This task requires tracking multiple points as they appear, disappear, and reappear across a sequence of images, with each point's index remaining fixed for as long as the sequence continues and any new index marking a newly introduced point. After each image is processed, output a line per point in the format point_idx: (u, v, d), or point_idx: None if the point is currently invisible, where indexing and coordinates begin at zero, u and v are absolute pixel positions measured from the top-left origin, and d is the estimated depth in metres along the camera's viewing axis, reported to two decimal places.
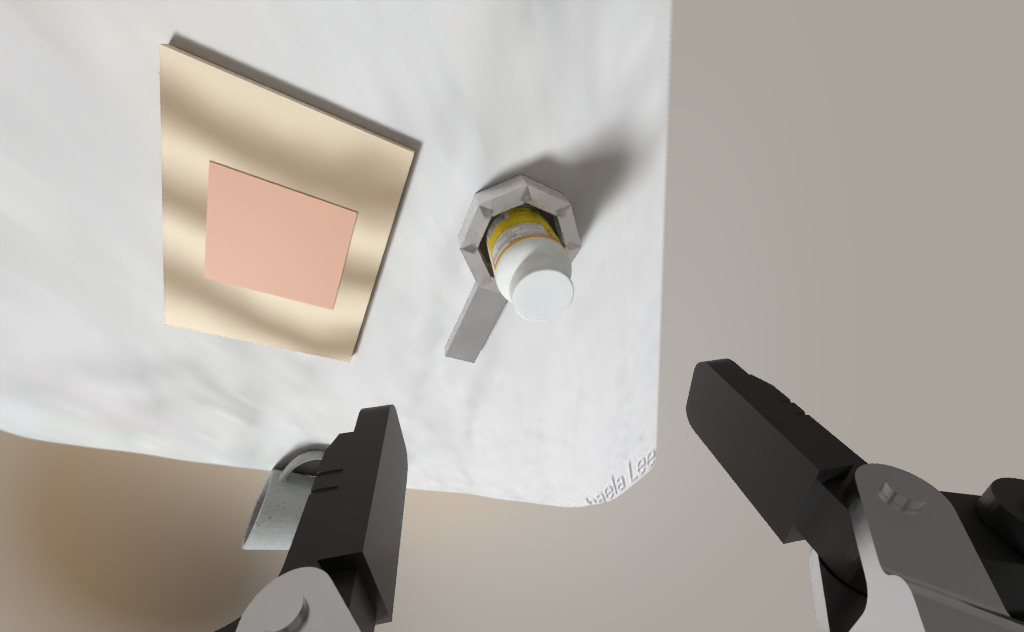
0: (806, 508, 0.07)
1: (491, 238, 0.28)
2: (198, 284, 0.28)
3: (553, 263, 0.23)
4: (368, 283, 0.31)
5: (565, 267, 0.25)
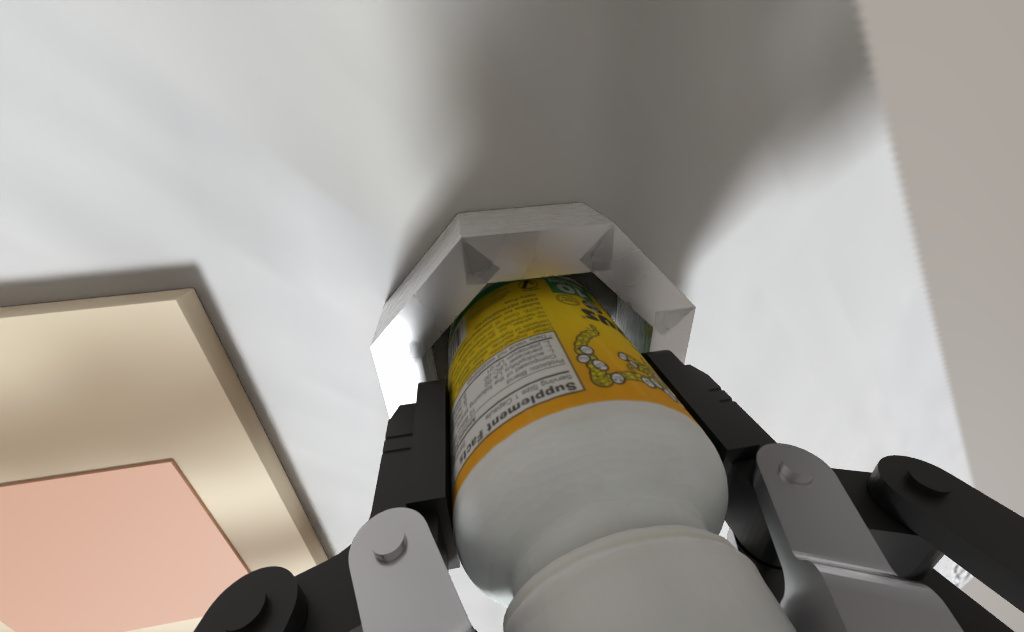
0: None
1: None
2: None
3: (646, 566, 0.05)
4: (295, 547, 0.15)
5: (698, 484, 0.06)
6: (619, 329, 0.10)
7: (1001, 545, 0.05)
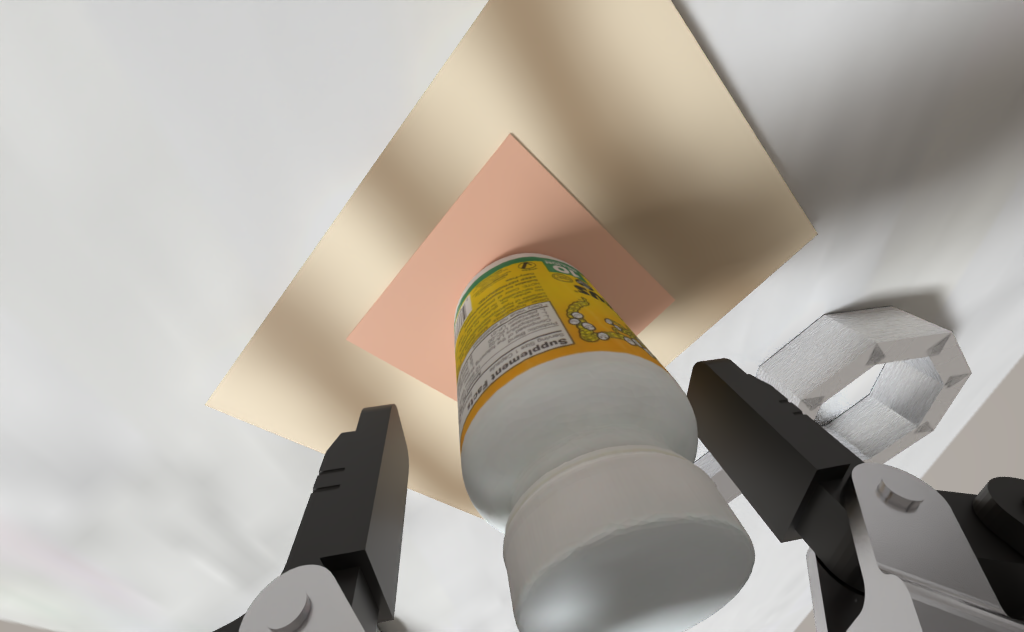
0: (803, 507, 0.07)
1: None
2: (324, 348, 0.14)
3: (619, 469, 0.06)
4: None
5: (669, 420, 0.07)
6: (608, 304, 0.11)
7: None
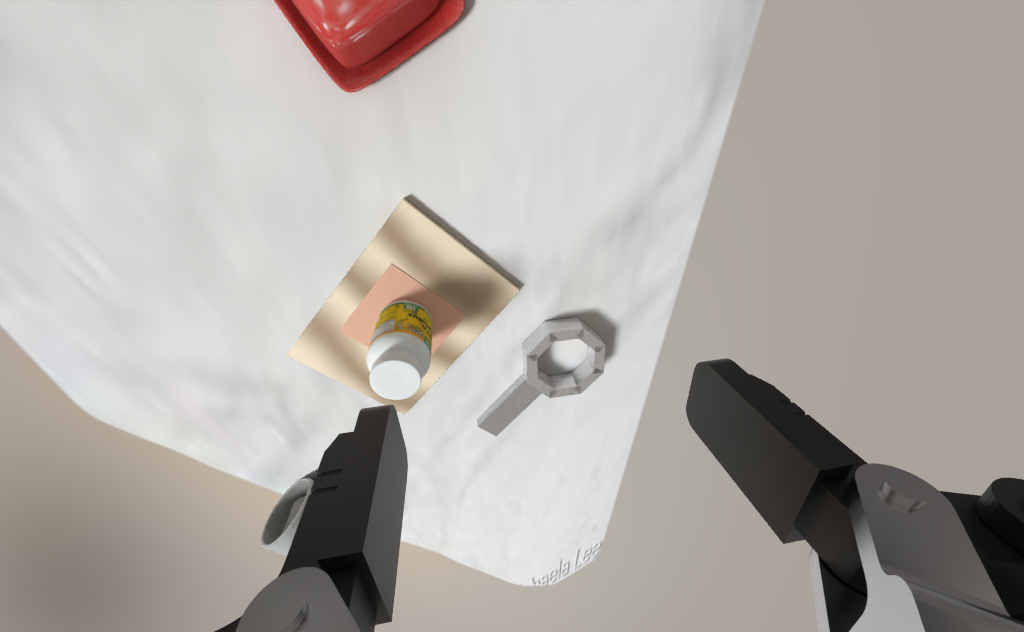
0: (806, 508, 0.07)
1: None
2: (331, 333, 0.38)
3: (390, 354, 0.30)
4: (449, 361, 0.41)
5: (412, 348, 0.31)
6: (420, 319, 0.35)
7: None
